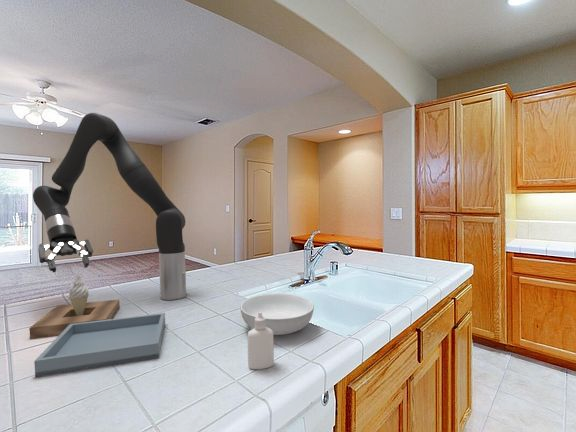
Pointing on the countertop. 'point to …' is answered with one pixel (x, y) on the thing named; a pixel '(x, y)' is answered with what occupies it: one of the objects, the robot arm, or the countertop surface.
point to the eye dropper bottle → (260, 345)
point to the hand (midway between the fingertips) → (71, 268)
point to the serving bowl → (278, 312)
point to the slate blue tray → (103, 344)
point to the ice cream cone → (79, 296)
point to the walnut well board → (72, 317)
